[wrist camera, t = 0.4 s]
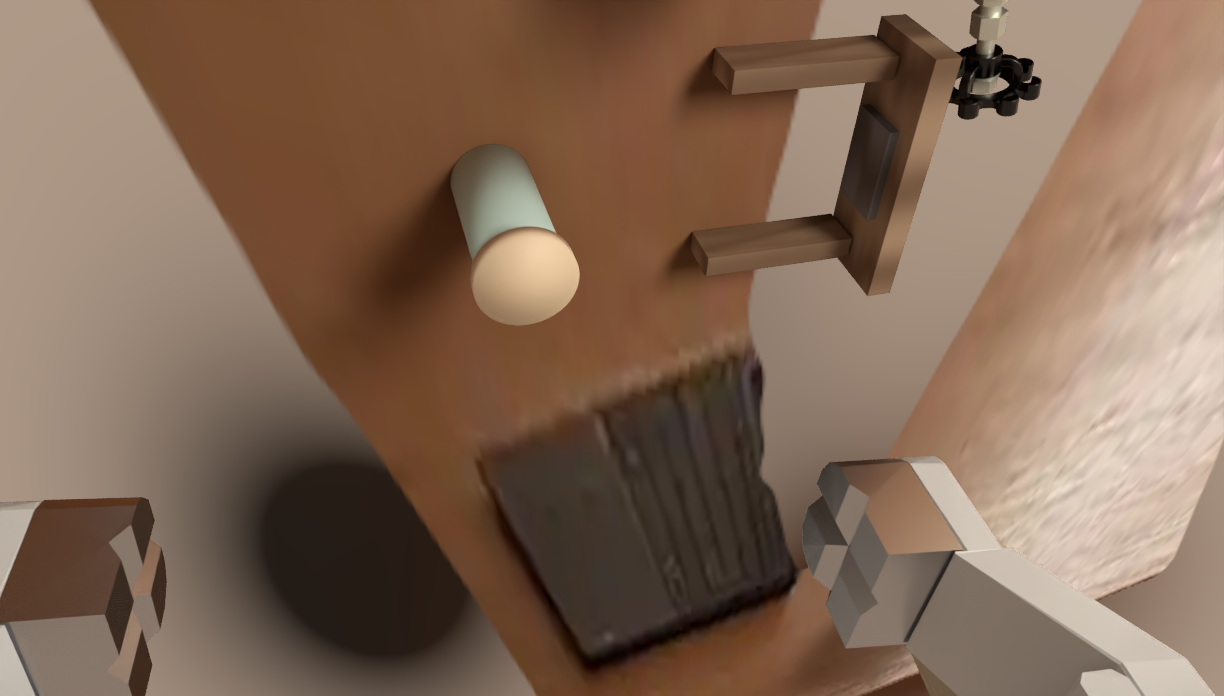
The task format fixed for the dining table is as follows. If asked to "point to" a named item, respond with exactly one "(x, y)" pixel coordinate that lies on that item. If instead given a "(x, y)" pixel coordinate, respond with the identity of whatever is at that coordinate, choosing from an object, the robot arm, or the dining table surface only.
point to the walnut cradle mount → (878, 156)
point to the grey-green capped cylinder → (511, 238)
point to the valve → (991, 67)
